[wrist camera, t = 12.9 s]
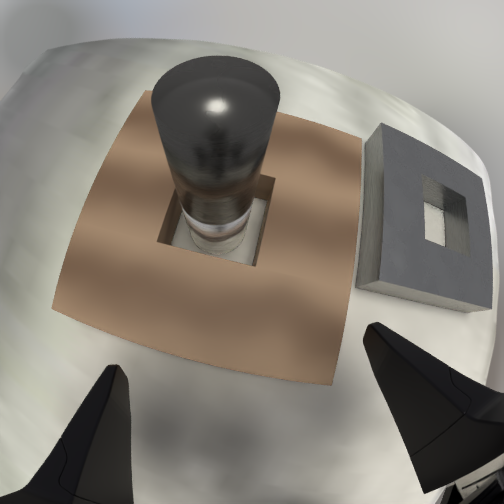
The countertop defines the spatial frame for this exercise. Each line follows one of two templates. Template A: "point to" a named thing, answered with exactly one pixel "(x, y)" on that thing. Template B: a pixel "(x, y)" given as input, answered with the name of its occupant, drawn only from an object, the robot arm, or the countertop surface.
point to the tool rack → (217, 269)
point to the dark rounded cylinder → (216, 142)
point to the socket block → (423, 226)
